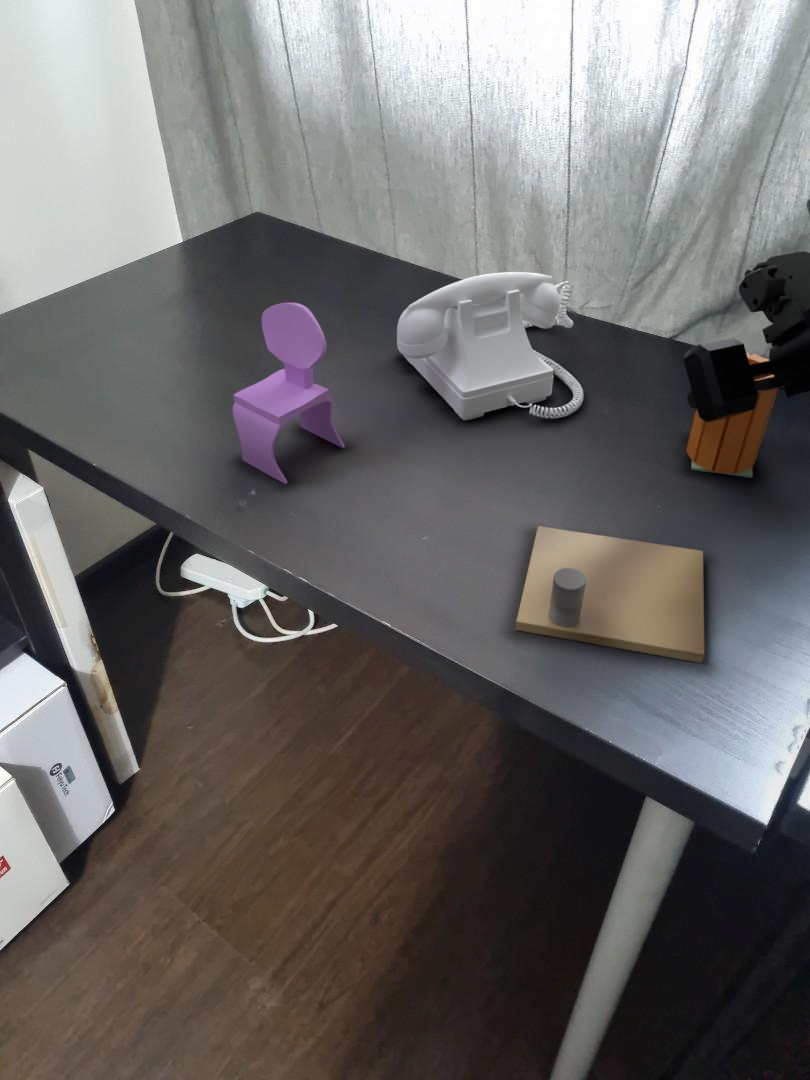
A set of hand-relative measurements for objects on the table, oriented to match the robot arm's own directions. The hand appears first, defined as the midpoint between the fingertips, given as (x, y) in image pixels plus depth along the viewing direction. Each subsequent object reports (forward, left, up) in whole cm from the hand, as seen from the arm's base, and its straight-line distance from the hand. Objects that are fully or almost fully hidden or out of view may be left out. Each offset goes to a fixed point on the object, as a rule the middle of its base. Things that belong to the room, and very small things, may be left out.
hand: (731, 392), depth 78 cm
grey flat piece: (-1, +1, -7) cm, 7 cm away
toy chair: (+41, +10, -7) cm, 43 cm away
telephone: (+23, -10, -7) cm, 26 cm away
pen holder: (-1, +1, -7) cm, 7 cm away
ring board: (+8, +23, -7) cm, 25 cm away
